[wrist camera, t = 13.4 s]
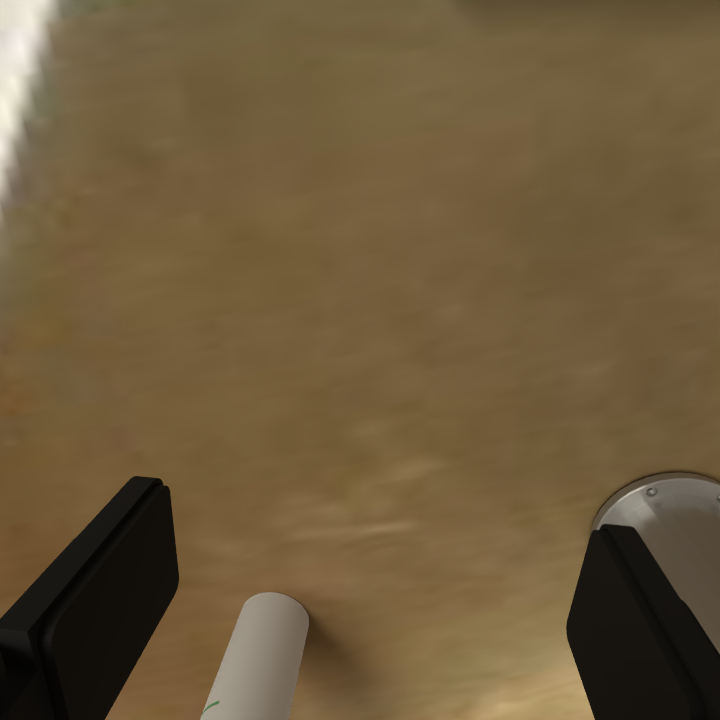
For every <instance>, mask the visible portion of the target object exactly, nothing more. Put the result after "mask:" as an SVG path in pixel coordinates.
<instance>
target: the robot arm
mask: <svg viewBox="0 0 720 720" xmlns="http://www.w3.org/2000/svg"><path fill="white" fill-rule="evenodd" d="M178 582H179V572H178V563H177V554H176V544H175V535H174V525H173V516H172V506H171V497H170V490H169V487H168V486H163V482H162V480H161V479H159V478H150V477H140V476H135V477H132V478H131V479H130V480H129V481H128V482H127V483H126V484H125V485H124V486H123V488H122V489H121V490H120V491H119V492H118V493H117V494H116V495H115V496H114V497H113V498H112V499H111V501H110V502H109V503H108V504H107V505H106V506H105V507H104V508H103V509H102V510H101V511H100V512H99V514H98V515H97V516H96V517H95V518H94V519H93V520H92V521H91V522H90V523H89V524H88V525H87V527H86V528H85V529H84V530H83V531H82V532H81V533H80V534H79V535H78V536H77V537H76V538H75V539H74V540H73V541H72V542H71V543H70V544H69V545H68V546H67V547H66V548H65V549H64V551H63V552H62V553H61V554H60V555H59V556H58V557H57V558H56V559H55V560H54V561H53V562H52V563H51V565H50V566H49V567H48V568H47V569H46V570H45V571H44V572H43V573H42V574H41V575H40V576H39V578H38V579H37V580H36V581H35V582H34V583H33V584H32V585H31V586H30V587H29V588H28V589H27V591H26V592H25V593H24V594H23V595H22V596H21V597H20V598H19V599H18V600H17V601H16V602H15V604H14V605H13V606H12V607H11V608H10V609H9V610H8V611H7V612H6V613H5V614H4V615H3V617H2V618H1V619H0V720H105V718H106V716H107V715H108V713H109V711H110V709H111V707H112V706H113V704H114V702H115V700H116V699H117V697H118V695H119V693H120V691H121V690H122V688H123V686H124V684H125V682H126V681H127V679H128V677H129V675H130V674H131V672H132V670H133V668H134V666H135V665H136V663H137V661H138V659H139V658H140V656H141V654H142V652H143V650H144V649H145V647H146V645H147V643H148V641H149V640H150V638H151V636H152V634H153V633H154V631H155V629H156V627H157V625H158V624H159V622H160V620H161V618H162V616H163V615H164V613H165V611H166V609H167V608H168V606H169V604H170V602H171V600H172V599H173V597H174V595H175V593H176V590H177V587H178ZM566 629H567V638H568V642H569V645H570V648H571V651H572V654H573V657H574V659H575V662H576V665H577V668H578V671H579V674H580V677H581V680H582V683H583V686H584V689H585V692H586V695H587V698H588V700H589V703H590V706H591V709H592V712H593V715H594V718H595V720H720V482H718V481H715V480H713V479H711V478H709V477H706V476H701V475H697V474H693V473H680V472H677V473H664V474H659V475H654V476H650V477H646V478H644V479H641V480H639V481H636V482H633V483H632V484H630V485H628V486H626V487H625V488H623V489H621V490H620V491H618V492H617V493H616V494H615V495H613V496H612V497H611V498H610V499H609V500H608V501H607V502H606V503H605V504H604V505H603V507H602V508H601V509H600V511H599V512H598V514H597V516H596V518H595V519H594V522H593V525H592V528H591V535H590V539H589V543H588V546H587V550H586V554H585V557H584V561H583V565H582V568H581V572H580V576H579V579H578V583H577V587H576V590H575V594H574V598H573V601H572V605H571V609H570V612H569V616H568V620H567V627H566Z"/></svg>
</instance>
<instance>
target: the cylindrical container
mask: <svg viewBox="0 0 720 720" xmlns="http://www.w3.org/2000/svg"><path fill="white" fill-rule="evenodd" d="M308 627H309V617H308V614H307V612H306V610H305V609H304V607H303V606H302V605H301V604H300V603H299V602H297V601H296V600H295V599H293V598H291V597H289V596H287V595H284V594H281V593H276V592H265V593H259V594H256V595H254V596H252V597H250V598H249V599H248V600H247V601H246V602H245V604H244V605H243V608H242V610H241V613H240V616H239V618H238V621H237V623H236V626H235V629H234V631H233V634H232V637H231V639H230V642H229V645H228V647H227V650H226V652H225V655H224V658H223V660H222V663H221V666H220V668H219V671H218V674H217V676H216V679H215V681H214V684H213V687H212V689H211V692H210V695H209V697H208V700H207V702H206V705H205V708H204V710H203V713H202V716H201V718H200V720H289V715H290V711H291V706H292V702H293V697H294V692H295V688H296V683H297V678H298V674H299V669H300V665H301V660H302V655H303V651H304V646H305V641H306V637H307V632H308Z"/></svg>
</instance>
